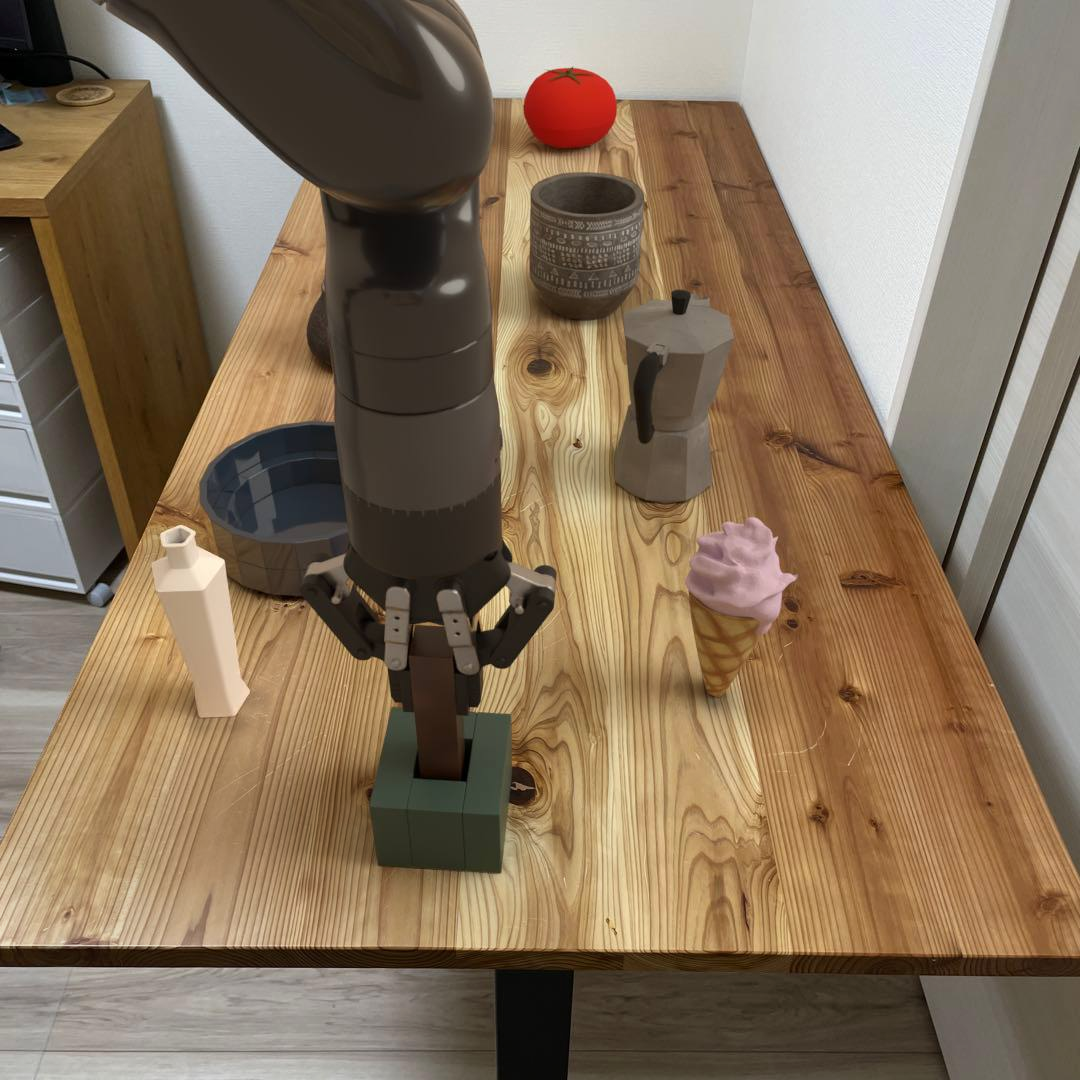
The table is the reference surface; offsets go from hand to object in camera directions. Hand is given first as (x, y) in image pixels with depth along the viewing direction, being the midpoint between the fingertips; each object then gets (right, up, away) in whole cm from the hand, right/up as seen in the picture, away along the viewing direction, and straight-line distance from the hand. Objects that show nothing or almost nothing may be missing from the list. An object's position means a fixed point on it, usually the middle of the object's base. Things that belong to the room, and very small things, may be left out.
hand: (438, 701), depth 61 cm
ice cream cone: (+19, -2, +16) cm, 24 cm away
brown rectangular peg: (0, -8, +7) cm, 11 cm away
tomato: (+10, +68, +99) cm, 121 cm away
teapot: (-11, +31, +55) cm, 64 cm away
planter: (+11, +36, +60) cm, 71 cm away
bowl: (-13, +10, +28) cm, 33 cm away
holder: (0, -8, +7) cm, 11 cm away
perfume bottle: (-17, -2, +15) cm, 22 cm away
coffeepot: (+16, +14, +35) cm, 41 cm away
